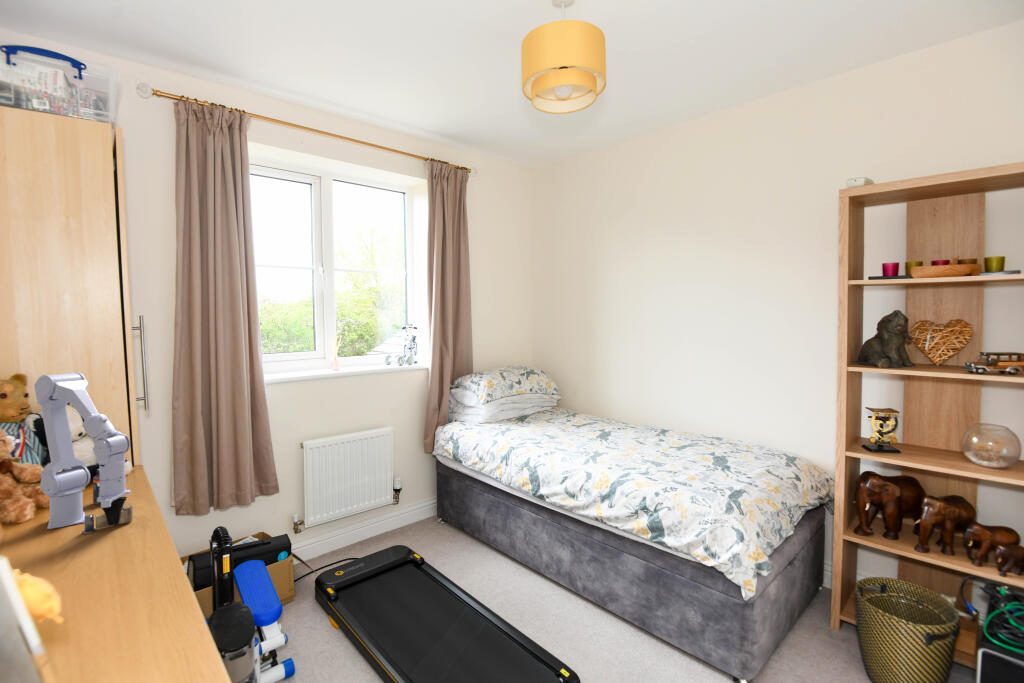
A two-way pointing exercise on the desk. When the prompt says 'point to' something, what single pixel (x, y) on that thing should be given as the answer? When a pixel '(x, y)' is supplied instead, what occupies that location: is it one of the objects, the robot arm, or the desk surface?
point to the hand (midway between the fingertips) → (113, 524)
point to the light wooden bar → (124, 518)
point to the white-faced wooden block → (130, 507)
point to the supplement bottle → (96, 488)
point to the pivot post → (89, 524)
